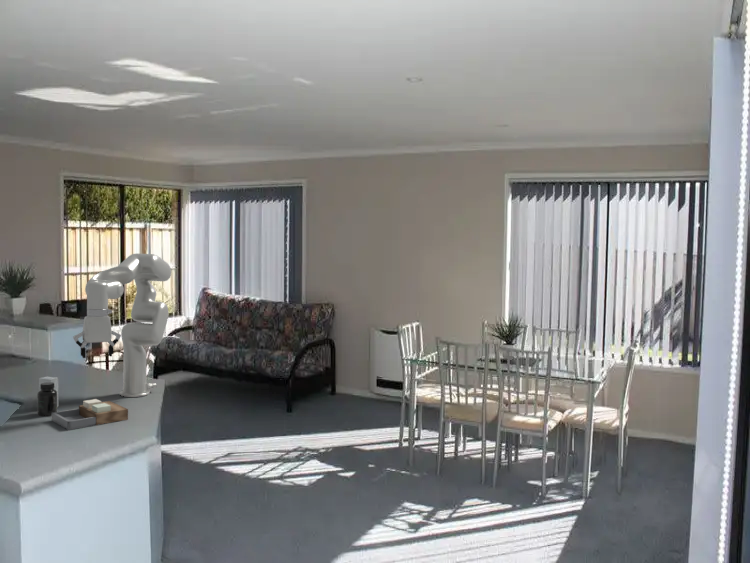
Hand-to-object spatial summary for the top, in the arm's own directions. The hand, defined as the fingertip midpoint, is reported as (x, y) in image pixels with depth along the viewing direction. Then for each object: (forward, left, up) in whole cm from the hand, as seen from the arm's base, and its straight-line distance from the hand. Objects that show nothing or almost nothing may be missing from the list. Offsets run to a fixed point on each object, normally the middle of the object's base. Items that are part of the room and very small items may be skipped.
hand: (97, 356), depth 256 cm
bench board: (+1, +8, -22) cm, 24 cm away
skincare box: (+11, -20, -22) cm, 32 cm away
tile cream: (+4, +4, -18) cm, 19 cm away
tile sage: (+4, +12, -18) cm, 22 cm away
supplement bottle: (+15, -10, -22) cm, 29 cm away
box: (+12, +8, -22) cm, 27 cm away
